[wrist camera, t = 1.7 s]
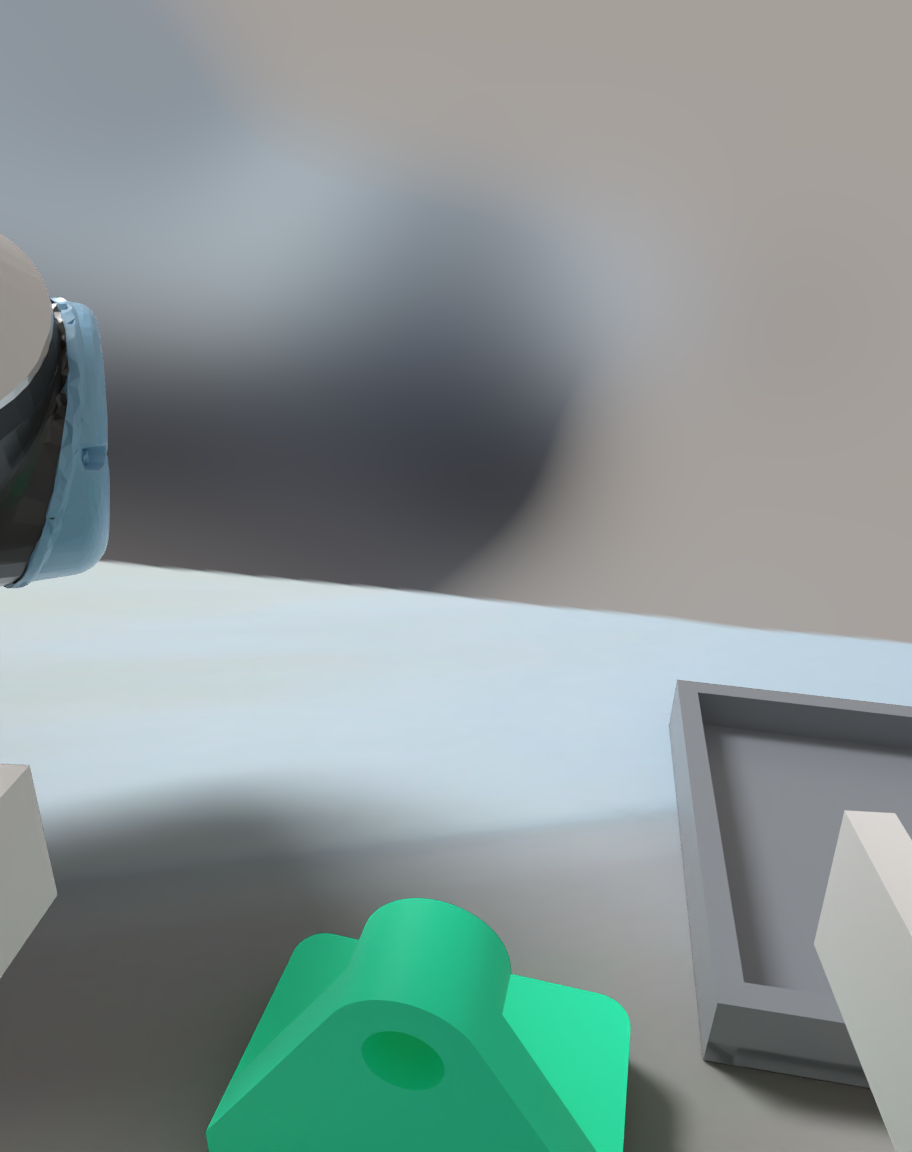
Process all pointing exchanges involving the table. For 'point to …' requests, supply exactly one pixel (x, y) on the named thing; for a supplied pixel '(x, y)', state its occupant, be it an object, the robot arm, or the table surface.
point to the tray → (775, 860)
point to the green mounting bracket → (425, 1049)
